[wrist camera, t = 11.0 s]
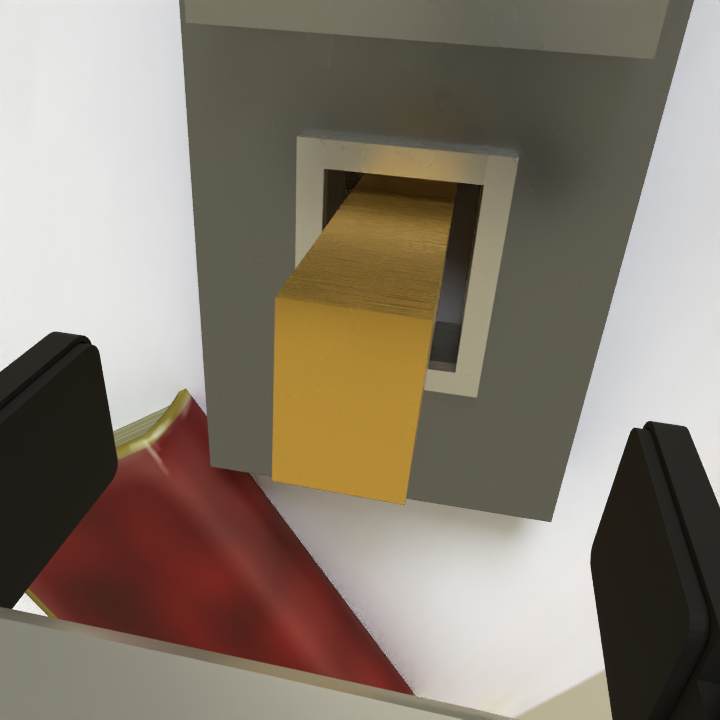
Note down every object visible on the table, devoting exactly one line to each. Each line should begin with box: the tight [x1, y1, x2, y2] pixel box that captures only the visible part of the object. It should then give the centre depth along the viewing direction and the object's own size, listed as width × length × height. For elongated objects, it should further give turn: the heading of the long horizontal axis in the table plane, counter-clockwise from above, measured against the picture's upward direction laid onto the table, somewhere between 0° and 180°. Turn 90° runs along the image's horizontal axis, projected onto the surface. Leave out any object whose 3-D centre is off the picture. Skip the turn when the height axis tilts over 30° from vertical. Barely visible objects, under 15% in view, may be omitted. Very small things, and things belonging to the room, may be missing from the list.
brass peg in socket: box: [272, 173, 458, 505], centre depth 18 cm, size 4×3×11 cm, turn 175°
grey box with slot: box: [179, 0, 694, 522], centre depth 21 cm, size 18×13×5 cm
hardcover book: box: [25, 389, 415, 696], centre depth 32 cm, size 12×21×4 cm, turn 30°
